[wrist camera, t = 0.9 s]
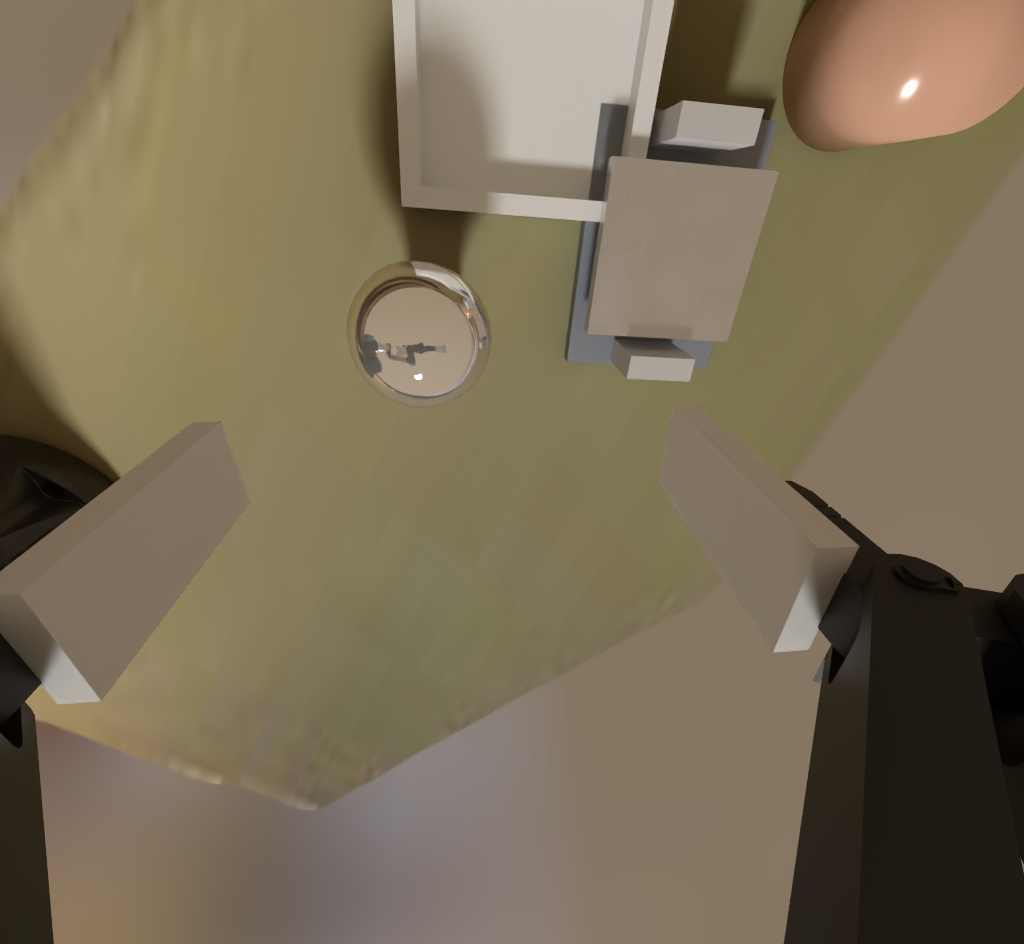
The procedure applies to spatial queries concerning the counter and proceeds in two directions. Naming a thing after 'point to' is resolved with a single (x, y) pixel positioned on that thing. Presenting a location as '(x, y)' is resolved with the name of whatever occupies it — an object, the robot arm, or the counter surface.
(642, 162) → the plate
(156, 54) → the counter surface
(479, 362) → the light bulb
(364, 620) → the counter surface
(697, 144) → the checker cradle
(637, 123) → the tray
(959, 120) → the peach rounded pebble
